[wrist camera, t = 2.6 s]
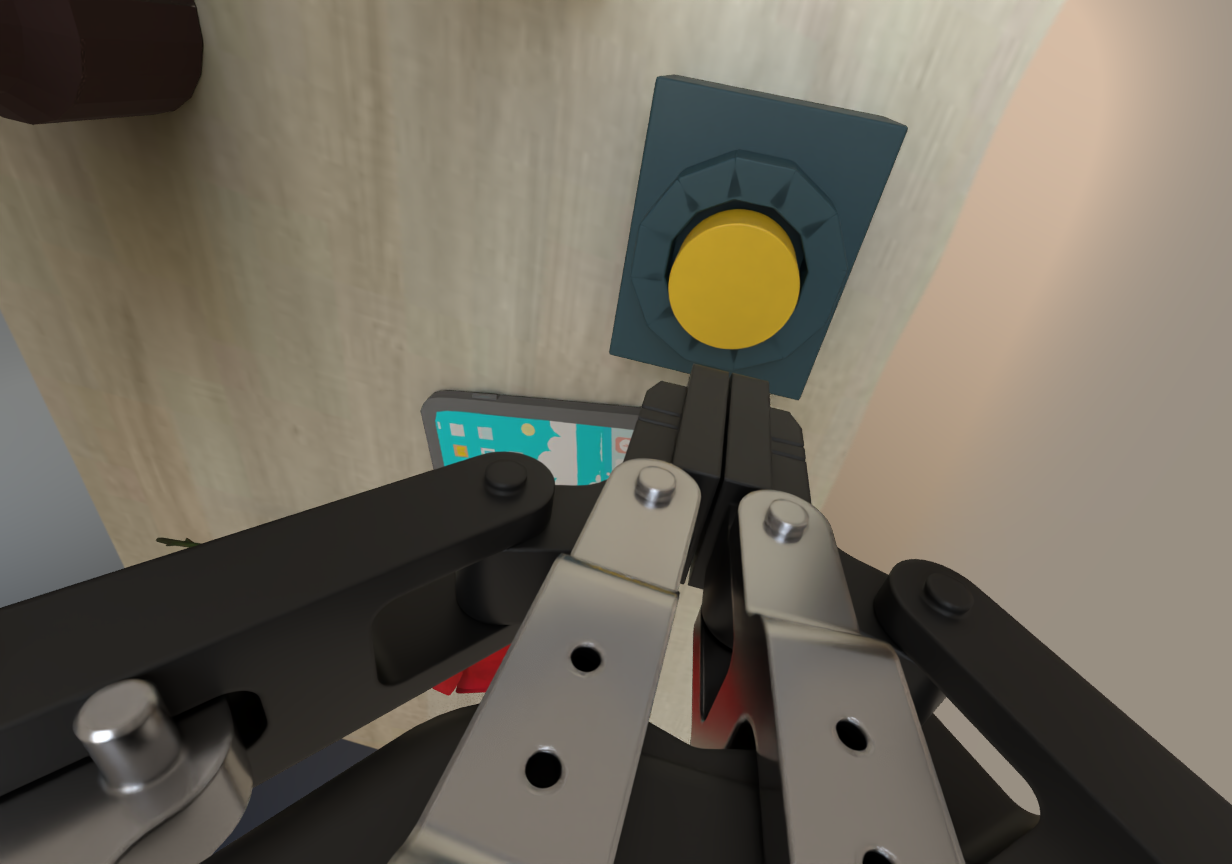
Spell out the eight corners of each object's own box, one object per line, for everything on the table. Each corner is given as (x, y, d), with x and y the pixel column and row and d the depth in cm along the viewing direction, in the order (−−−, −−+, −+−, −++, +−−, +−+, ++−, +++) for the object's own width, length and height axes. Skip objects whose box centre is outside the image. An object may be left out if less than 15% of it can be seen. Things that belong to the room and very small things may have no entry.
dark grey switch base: (671, 74, 22) (646, 76, 17) (885, 116, 21) (925, 132, 16) (626, 319, 27) (597, 376, 22) (794, 359, 26) (802, 427, 22)
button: (690, 196, 18) (684, 209, 17) (814, 223, 18) (820, 239, 16) (665, 312, 21) (656, 333, 19) (774, 337, 20) (775, 362, 19)
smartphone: (687, 549, 32) (442, 516, 35) (689, 537, 33) (449, 506, 36) (696, 419, 28) (414, 392, 31) (698, 409, 29) (423, 384, 31)
